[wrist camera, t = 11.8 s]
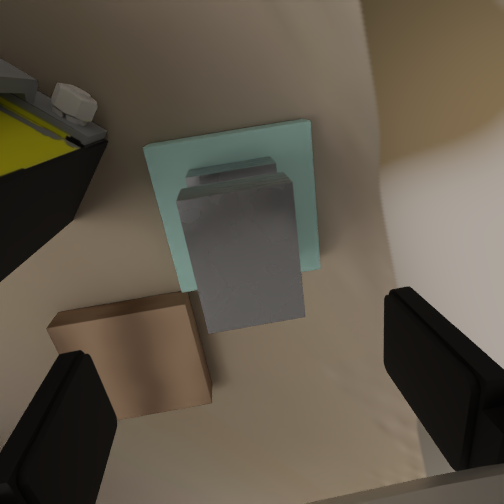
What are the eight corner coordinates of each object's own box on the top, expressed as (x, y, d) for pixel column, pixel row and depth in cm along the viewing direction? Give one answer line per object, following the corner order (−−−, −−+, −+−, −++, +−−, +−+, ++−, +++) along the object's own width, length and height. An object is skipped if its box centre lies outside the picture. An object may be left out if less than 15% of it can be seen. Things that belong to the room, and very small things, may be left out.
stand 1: (101, 404, 30) (93, 424, 29) (58, 312, 26) (46, 328, 24) (212, 384, 31) (211, 403, 29) (187, 290, 26) (185, 304, 25)
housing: (188, 169, 21) (176, 201, 14) (269, 156, 21) (292, 182, 15) (210, 270, 24) (208, 333, 17) (281, 258, 24) (305, 316, 17)
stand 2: (184, 279, 26) (181, 292, 24) (148, 143, 22) (142, 148, 20) (313, 256, 26) (320, 268, 24) (302, 118, 22) (310, 120, 20)
